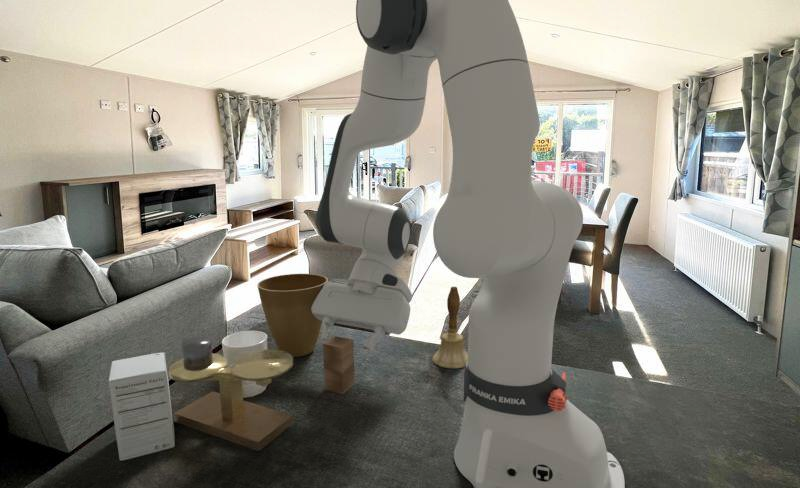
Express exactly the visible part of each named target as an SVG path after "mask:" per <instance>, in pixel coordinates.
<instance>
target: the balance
mask: <svg viewBox="0 0 800 488" xmlns="http://www.w3.org/2000/svg"><path fill="white" fill-rule="evenodd" d="M212 347H213V346H212V339H211V338H210V337H208V336H196V337H191V338H188V339H186V340H184V341H183V342H181V350H182V351H181V352H182V358H180V359H178V360H176V361H175V362H173V363H172V364H170V366H169V367H168V369H167V372H168V378H170V379H171V380H173V381H176V382H180V383H193V382H195V383H196V382H201V381H218V383H219V384H218V385H219V392H216V391H211V392H209V393H206V394H205V395H204V396H202V397H200V398H198V399H196V400H194V401H193V402H191V403H189V404H187V405H186V406H184V407H182V408H180V409H179V410H177V411H175V412H174V413H173V423H177V424H180V425H182V426H183V425H184V426H186V427H188V428H191V429H194V430H196V431H197V430H198V431H200V432H203V433H206V434H209V435H211V436H214V437H217V438H219V439H223V440H225V441H228V442H232V443H234V444H237V445H240V446H243V447H245V448H247V449H248V448H249V449H251V450H254V451H256V452H260V451H261V450H262V449H264V448H265V447H267V446H268V445H269V444H270V443H271V442H273V441H274V440H276V438H277V437H280V435H281V434H283V433H284V432H285V431H286V430H287V429H289V428H290V427H291V426H293V425H294V424H295V421H294V415H293V414H291V413H287V412H284V411H282V410H277V409H275V408H274V409H273V408H270V407H267V406H263V405H260V404H258V403H254V402H252V401H251V402H250V401H248V400H247V401H246V400H244V398H243V390H242V381H256V384H257V385H260V386H266V385H267V386H268V385H269V384H271V383H272V379H275V378H277V377H280V376H283V375H284V374H287V373H288V372H289V371H291V369H292V368H293V365H294V357H292V355H291V354H289V353H288V352H285V351H281V350H279V349H267V350H260V351H254V352H250V353H247V354H244V355H242V356H240V357H238V358H237V359H235V360H234V361H233V362H232V364H231V368H227V367H228V361H227V358H226V357H225V356H224V355H223V354H221V353H213V350H212V349H213V348H212Z"/></svg>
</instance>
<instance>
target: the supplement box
mask: <svg viewBox="0 0 800 488" xmlns="http://www.w3.org/2000/svg"><path fill="white" fill-rule="evenodd" d="M108 386H109V393H110V400H111V408H112V416H113V423H114V431H115V438H116V444H117V445H116V446H117V449H118V458H119V461H122V462H123V461H126V460H130V459H134V458H138V457H143V456H145V455H150V454H154V453H157V452H162V451H164V450H168V449H173V448H174V447H175V445H176V443H175V441H176V440H175V439H176V438H175V427H174V415H173V409H172V401H171V392H170V384H169V373H168V367H167V362H166V353H165V352H156V353H150V354H145V355H144V354H143V355H139V356H134V357H128V358H121V359H117V360H113V361H111V365H110V370H109V375H108Z"/></svg>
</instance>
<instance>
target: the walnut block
mask: <svg viewBox="0 0 800 488" xmlns="http://www.w3.org/2000/svg"><path fill="white" fill-rule="evenodd" d="M354 344H355V343H354V339H353V338H352V339H351V338H346V337H341V336H335V335H334V336H333V338H332V339H330V340H329V341H327V342H323V344H322V349H323V350H322V351H323V375H324V377H323V381H324V390H325V391H329V392H333V393H337V394H341V395H344V394H345V393H346V392H348V391H349V390H351V388H352V387H354V386H355V383H356V382H355V355H354V354H355V352H354V351H355V350H354V349H355V348H354Z"/></svg>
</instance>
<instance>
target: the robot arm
mask: <svg viewBox="0 0 800 488" xmlns="http://www.w3.org/2000/svg"><path fill="white" fill-rule="evenodd" d="M355 16H356V17H355V18H356V19H355V20H356V26H357V29H358V32H359V34H360V36H361V38H362V40H363V41H364V43H365V44H366V45H367V47H366V52H365V55H364V59H363V60H364V61H363V66H362V75H361V85H360V94H359V98H358V99H359V100H358V101H357V104H356V106H355V108H354V110H353V112H351V113H349V114H347V115H344V117H343V118H342V120H341V122H340V123H339V125H338V128H337V132H336V135H335V139H334V142H333V145H332V146H333V147H332V151H331V156H330V160H329V163H328V169H327V174H326V177H325V182H324V187H323V192H322V195H321V199H320V201H319V204H318V207H317V209H316V214H315V219H314V224H315V228H316V230H317V231H318V233H319V234H320V236H321V238H322V239H323V240H324V241H325V242H328V243H332V244H333V243H334V244H338V245H339V244H340V245H348V246H351V247H356V248H360V249H362V251H361V254H360V256H359V257H358V258H357V260H355V263H354V265H353V268H352V271H351V273H350V275H349V277H348V279H341V278H332V279H330V280H328V282H326V283H325V284H324V286H323V288H322V290H321V291H320V293H319V294H318V296H317V298H316V299H315V301H314V303H313V305H312V307H311V311H312V314H313V315H314V316H315V317H316V318H317V319H318V320H322V324H321V327H322V334H321V336H320V341H321V342H322V343H325V342H327V341H329V340H330V339H332V338H333V337H334V335H333V334H332V332H331V328H333V326H334V324H340V325H345V326H349V327H356V328H362V329H367V330H372V331H373V332H374V334H373V335H372V336H371V337H370V338H369V339H368V338H365V339H364V341H363V345H362V349H363V350H364V351H365V352H368V353H373V351H374V349H375V346H376V345H377V344H378V343H380V341H381V340H382V339H384V338H385V335H386V333H389V334H395V335H399V336H400V335H402V334H403V333H404V332H405V331H406V329H407V326H408V323H409V320H410V316H411V305H410V302H411V301H412V299H413V294H412V291H411V289H410V287H409V286H408V285H407V283H406V282H405V280H404V279H402V278H401V277H399V276H397V270H398V267H399V266H400V264H401V263H402V261H403V258H404V255H405V254H406V252H407V249H408V248H409V247H408V246H409V245H410V241H411V238H412V223H411V220H410V219H409V217H408V216H407V215H408V214H407V213H406V212H405V211H404V209H403V208H401V207H398V206H396V205H392V204H388V203H384V202H380V201H374V200H369V199H365V198H360V197H356V196H354V195H353V194H351V192H350V186H351V181H352V178H353V173H354V171H355V170H354V169H355V165H356V161H357V158H358V156H359V154H360V153H361V152H364V151H367V150H372V149H378V148H382V147H383V148H384V147H388V146H392V145H395V144H398V143H400V142H403V141H405V140H407V139H408V138H410V136H411V137H412V135H414V133H415V132H416V131H417V130H418V128H419V126H420V125H421V122H422V118H423V114H424V109H425V105H426V97H427V89H428V80H429V79H428V77H429V71H430V67H431V66H432V64H433V63H434V62H435V61H437V62H438V66H439V68H438V69H439V74H440V81H441V87H442V91H443V96H444V101H445V107H446V115H447V119H448V123H449V130H450V136H451V143H452V144H451V145H452V165H451V178H450V184H449V188H448V192H447V196H446V198H445V201H444V202H443V204H442V206H441V207H440V209H439V210H438V212H437V213H436V216H435V219H434V222H433V228H432V231H433V232H432V237H433V238H432V239H433V244H434V248H435V251H436V253H437V256H438V257H439V259H440V261H441V262H442V264H443V265H444V266H445V267H446V268H447V269H448V270H449V271H451V272H452V273H453V274H455V275H458V276H460V277H462V278H466V279H467V278H468V279H483V283H482V284H481V287H480V290H479V292H478V294H477V295H476V297H475V298H474V300H473V302H472V303H471V306H470V308H469V312H468V327H467V328H468V330H467V331H468V332H467V335H468V336H467V354H468V362H466V363H465V367H463V368H464V369H463V375H462V391H463V401H464V408H463V409H464V410H463V415H462V423H461V429H460V432H459V436H458V440H457V441H456V444H455V447H454V451H453V459H454V463H455V466H456V467H457V469H458V470H459V472H460V473H461V474H462V476H463V477H464V478H465V479H466V480H468V481H469V482H470V483H471V485H472V486H473V488H626V487H625V486H626V485H625V484H626V482H625V481H626V480H625V476H624V474H625V473H624V471H623V468H622V466H621V464H620V462H619V460H618V459H617V458H616V457H615V456H614V455H613V454H612V453H611V452H609V451H607V446H606V443H605V442H606V441H605V439H604V435H603V432H602V430H601V428H600V427H599V425H598V424H597V423H596V422H595V421H594V420H593V419H591V418H590V417H589V416H588V415H586V414H585V413H584V412H583V411H581V410H580V409H579V408H577V406H575V405H574V404H573V403H572V402H570V401H569V400H568V398H567V382H566V378H567V376H566V372H565V371H563V372H562V374H561V375H559V374H558V373H557V372H556V371H555V370H554V369H553V368H552V358H553V344H554V343H553V342H554V331H555V330H554V329H555V328H554V327H555V320H556V319H555V318H556V313H557V309H558V304H559V299H560V296H561V291H562V288H563V285H564V281H565V277H566V273H567V269H568V265H569V261H570V257H571V253H572V251H573V247H574V245H575V243H576V241H577V239H578V237H579V235H580V233H581V231H582V229H583V224H584V223H583V222H584V215H583V210H582V206H581V204H580V201H579V200H578V199H577V198H576V196H574V195H573V194H572V193H571V192H570V191H569V190H567V189H566V188H564V187H561V186H558V185H556V184H552V183H551V182H547V181H546V182H545V181H539V180H538V181H532V159H533V149H534V143H535V140H536V139H537V136H538V135H539V132H540V125H541V121H540V116H539V111H538V107H537V106H538V105H537V101H536V100H537V99H536V96H535V92H534V91H535V90H534V84H533V81H532V80H533V79H532V75H531V69H530V65H529V61H528V54H527V51H526V48H525V43H524V40H523V37H522V32H521V30H520V27H519V23H518V21H517V19H516V15H515V13H514V10H513V8H512V5H511V4H510V2H509V0H356V5H355Z"/></svg>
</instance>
